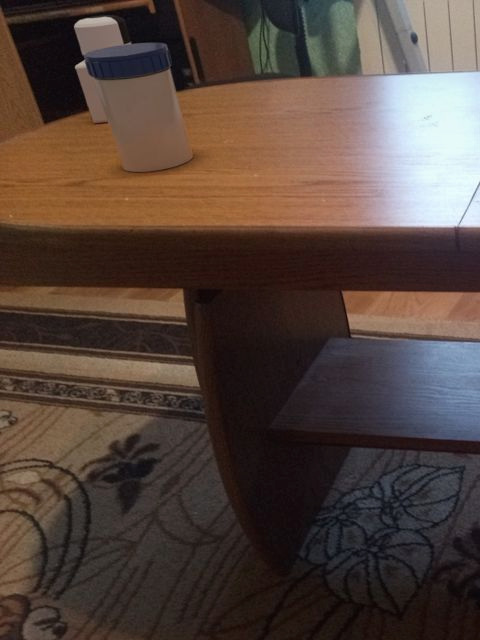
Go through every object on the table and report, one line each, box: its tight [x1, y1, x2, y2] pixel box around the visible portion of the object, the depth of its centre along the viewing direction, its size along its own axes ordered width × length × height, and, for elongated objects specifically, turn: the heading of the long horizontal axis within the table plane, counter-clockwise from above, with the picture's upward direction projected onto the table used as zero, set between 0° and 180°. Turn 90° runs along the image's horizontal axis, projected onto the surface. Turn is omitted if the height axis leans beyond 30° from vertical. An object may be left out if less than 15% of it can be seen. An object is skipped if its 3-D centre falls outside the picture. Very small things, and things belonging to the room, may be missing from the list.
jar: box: [94, 66, 194, 173], centre depth 75 cm, size 7×7×11 cm
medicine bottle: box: [72, 14, 132, 124], centre depth 94 cm, size 7×7×12 cm
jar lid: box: [83, 42, 173, 78], centre depth 72 cm, size 8×8×2 cm
